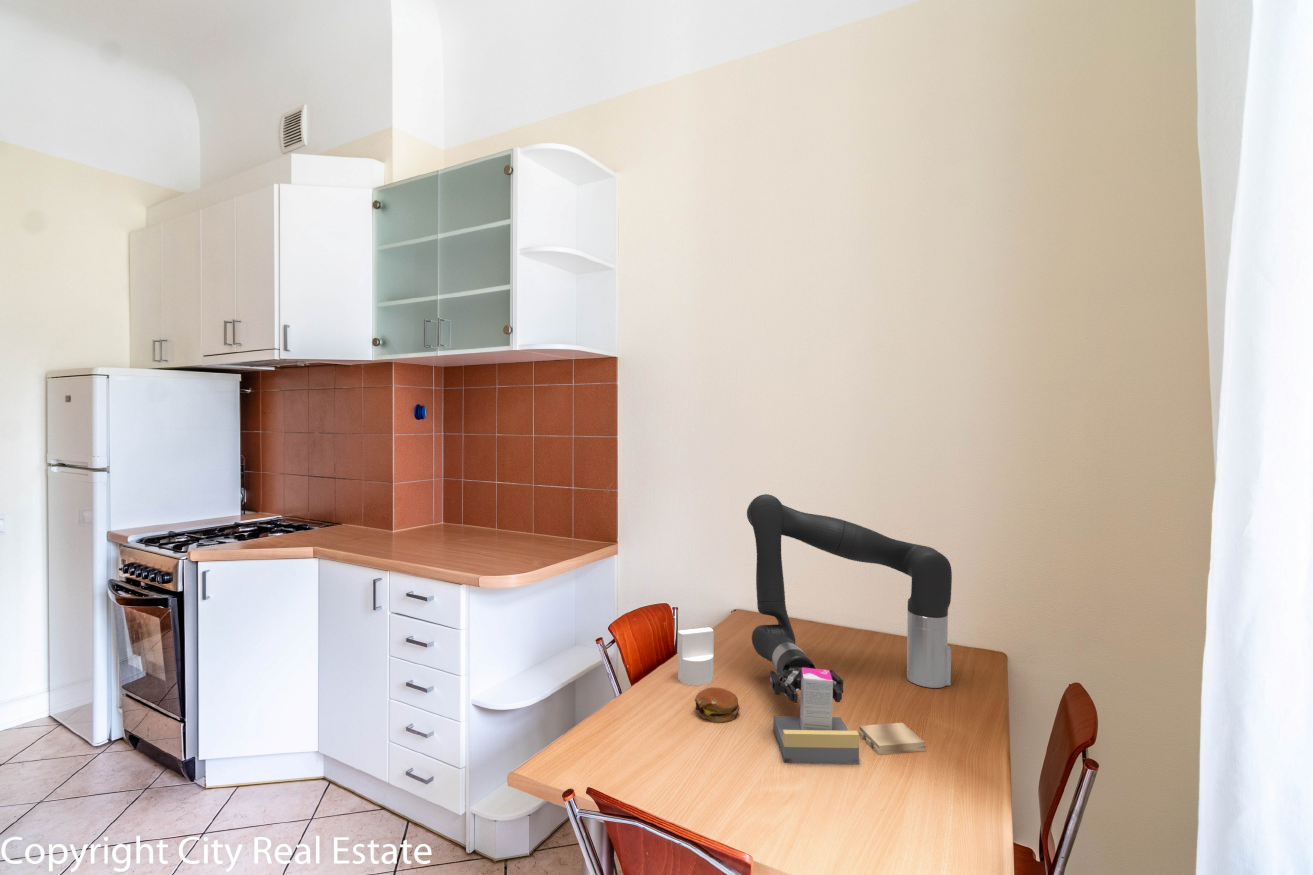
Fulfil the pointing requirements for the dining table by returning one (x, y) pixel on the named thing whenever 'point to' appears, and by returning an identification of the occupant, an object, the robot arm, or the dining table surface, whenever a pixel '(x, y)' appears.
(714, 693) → the burger
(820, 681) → the supplement box
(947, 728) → the dining table surface
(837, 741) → the dock
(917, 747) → the block
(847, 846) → the dining table surface
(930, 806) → the dining table surface
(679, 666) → the cylinder with rectangular tab
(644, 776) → the dining table surface
